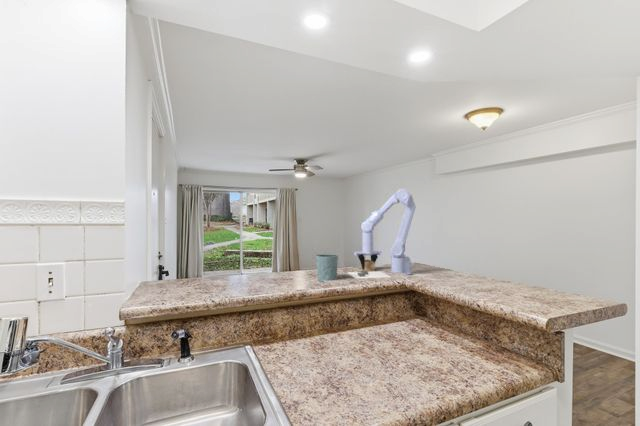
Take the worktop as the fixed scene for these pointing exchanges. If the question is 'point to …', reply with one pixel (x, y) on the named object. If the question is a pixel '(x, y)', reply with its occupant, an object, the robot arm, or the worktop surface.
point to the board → (370, 274)
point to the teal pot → (327, 267)
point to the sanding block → (369, 265)
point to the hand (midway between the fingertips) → (367, 268)
